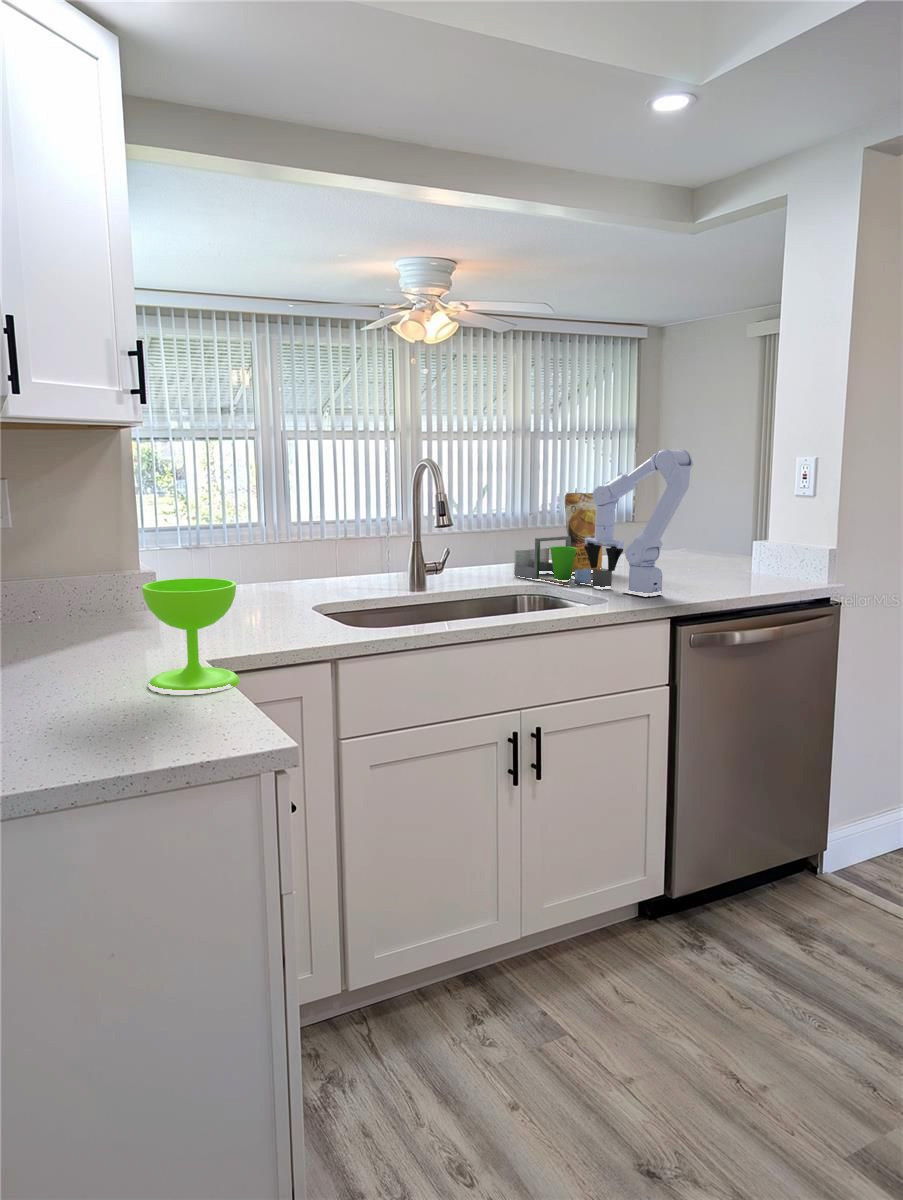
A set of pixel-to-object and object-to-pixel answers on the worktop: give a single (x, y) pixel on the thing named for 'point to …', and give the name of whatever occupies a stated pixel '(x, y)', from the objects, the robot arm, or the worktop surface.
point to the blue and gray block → (599, 577)
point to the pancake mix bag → (581, 526)
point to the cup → (562, 561)
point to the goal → (535, 558)
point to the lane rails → (556, 580)
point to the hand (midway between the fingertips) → (602, 569)
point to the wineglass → (191, 625)
